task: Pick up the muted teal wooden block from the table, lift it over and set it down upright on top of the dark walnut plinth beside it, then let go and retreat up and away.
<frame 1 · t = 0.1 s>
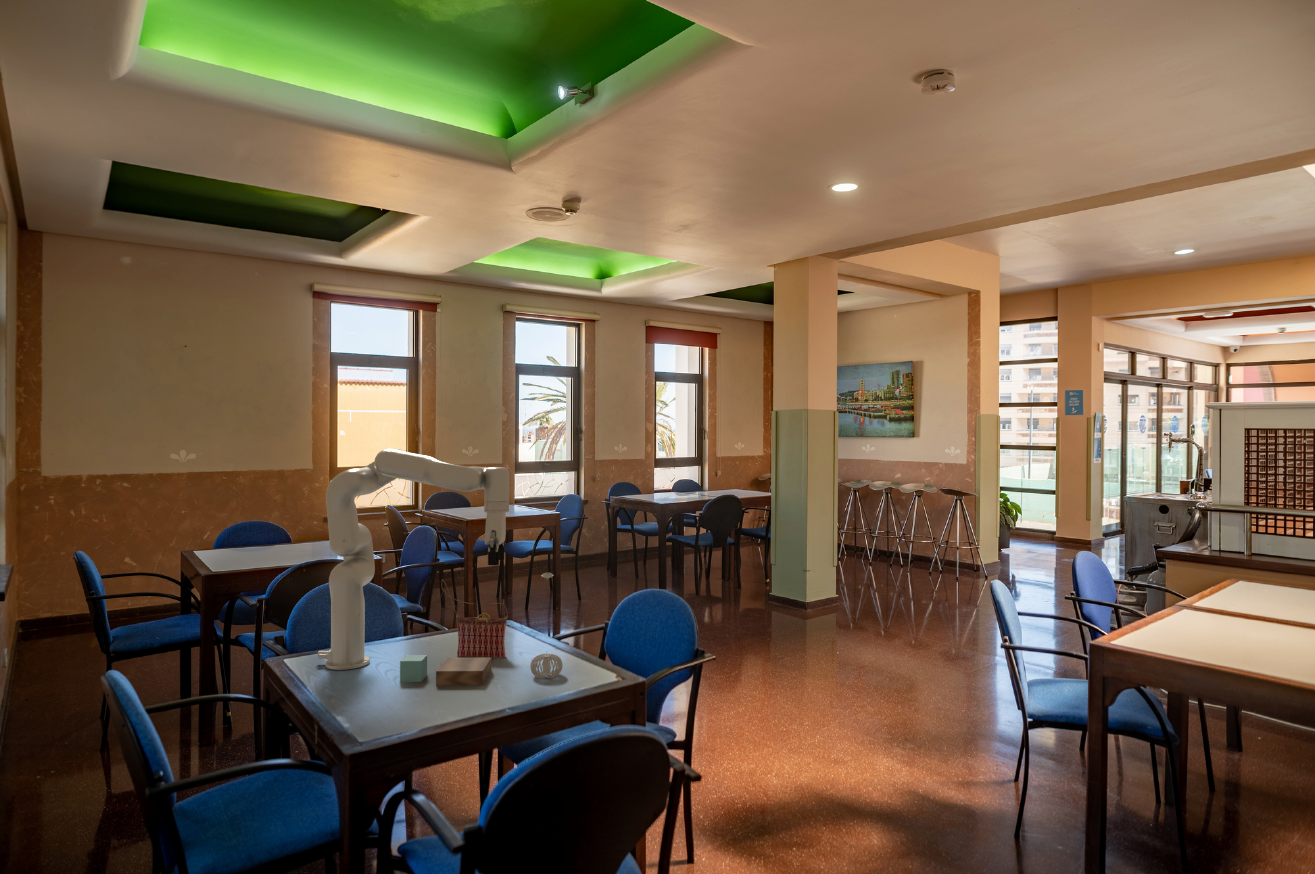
hand: (496, 562, 226), 31 cm above the table, tool pointing down, fingers open, 9 cm apart
walnut plinth: (464, 677, 212), on the table
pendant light: (546, 676, 214), on the table
teal block: (413, 678, 211), on the table
handbag: (473, 658, 232), on the table
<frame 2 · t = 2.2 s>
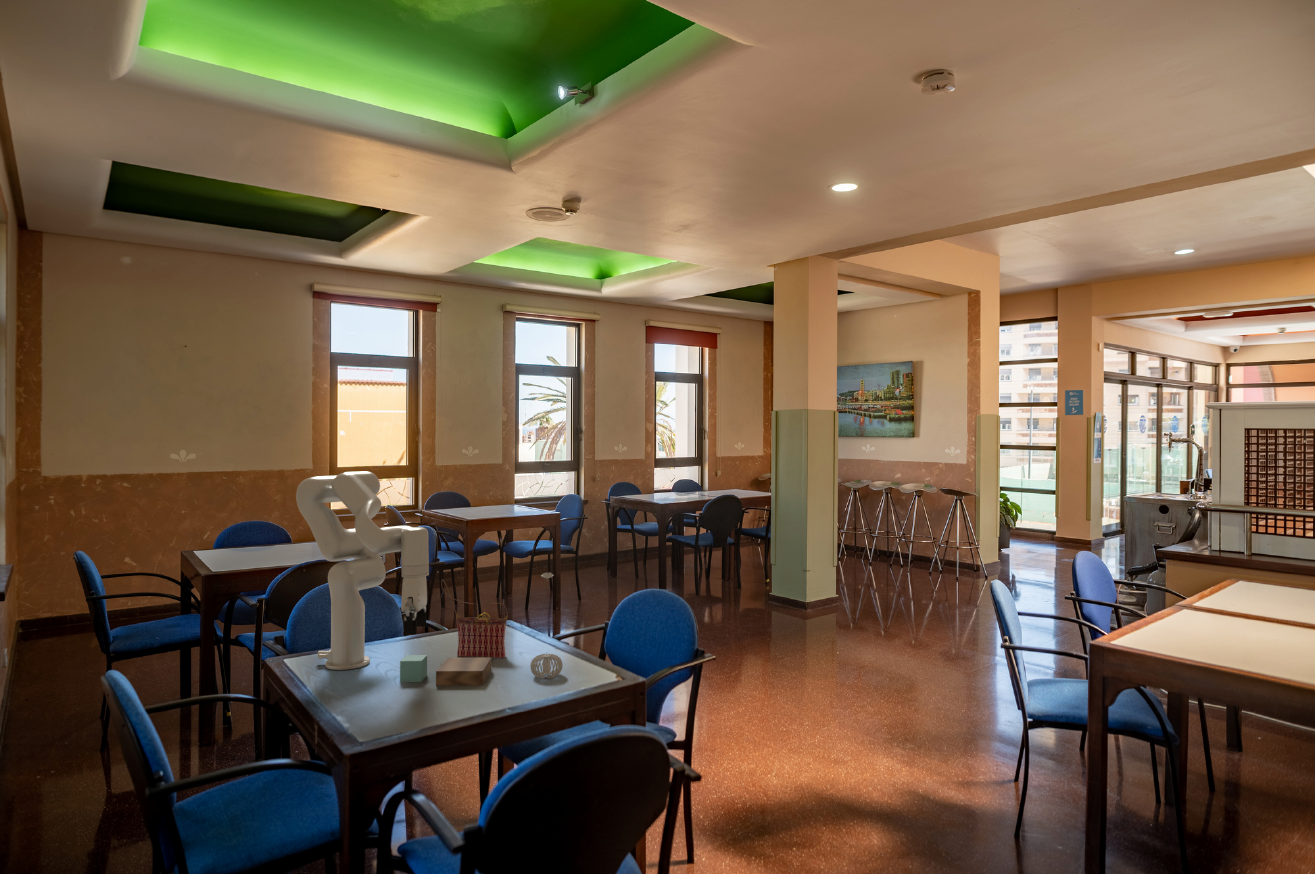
hand: (415, 630, 211), 14 cm above the table, tool pointing down, fingers open, 9 cm apart
nothing on the table moved.
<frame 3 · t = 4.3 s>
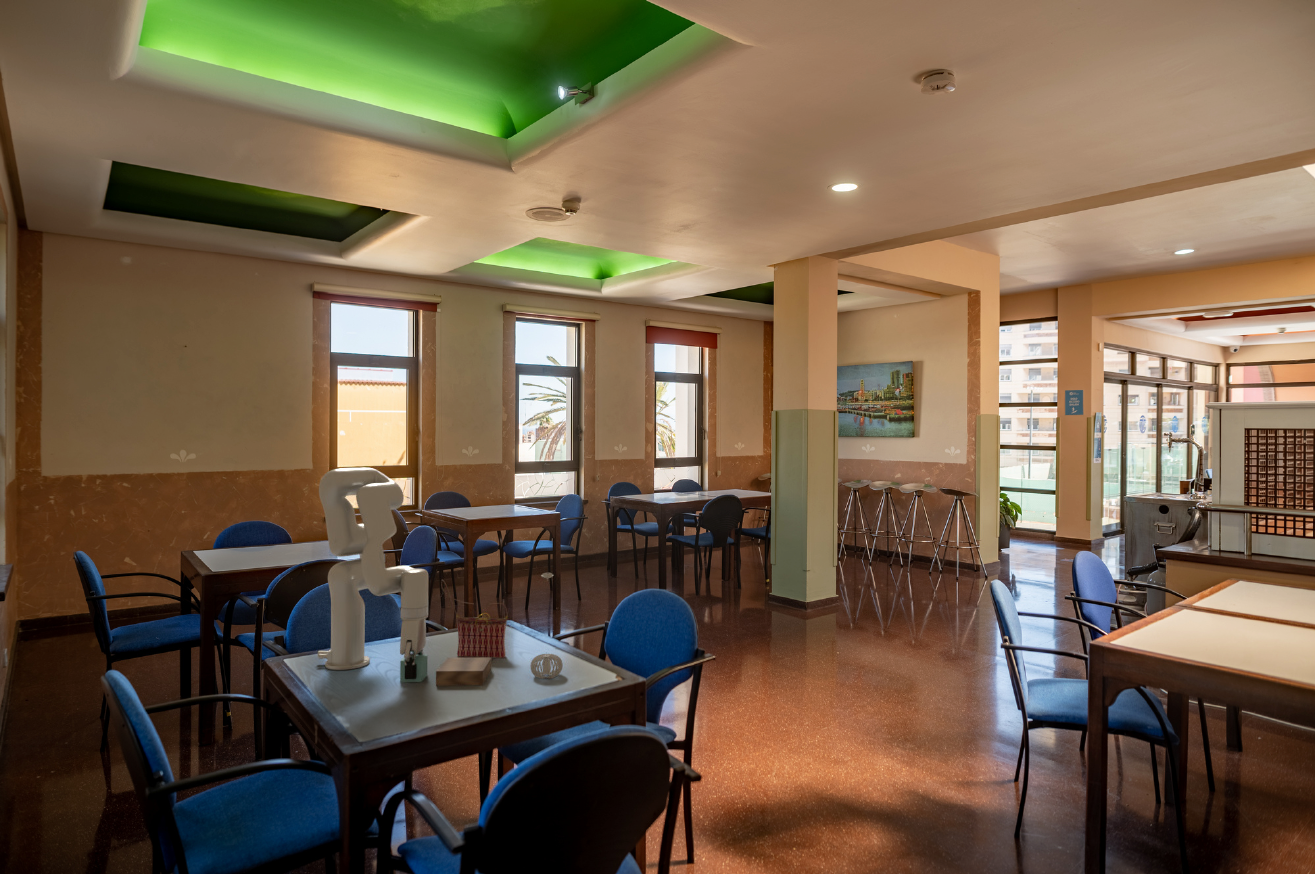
hand: (414, 674, 211), 1 cm above the table, tool pointing down, fingers closed on teal block, 6 cm apart
teal block: (413, 678, 211), on the table, touching gripper
everything else where it was.
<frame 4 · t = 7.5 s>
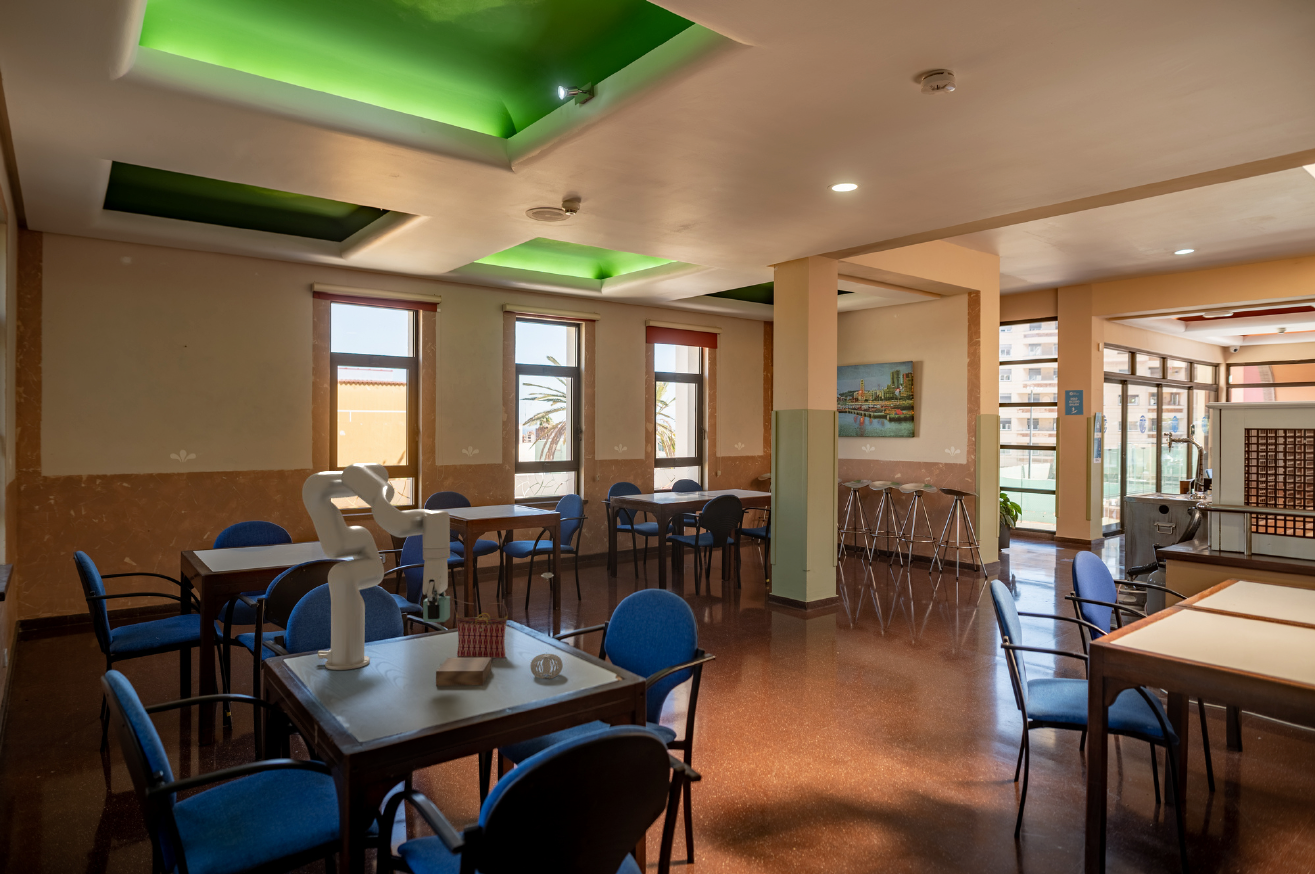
hand: (436, 615, 211), 18 cm above the table, tool pointing down, fingers closed on teal block, 6 cm apart
teal block: (436, 619, 211), point 17 cm above the table, touching gripper
everything else where it was.
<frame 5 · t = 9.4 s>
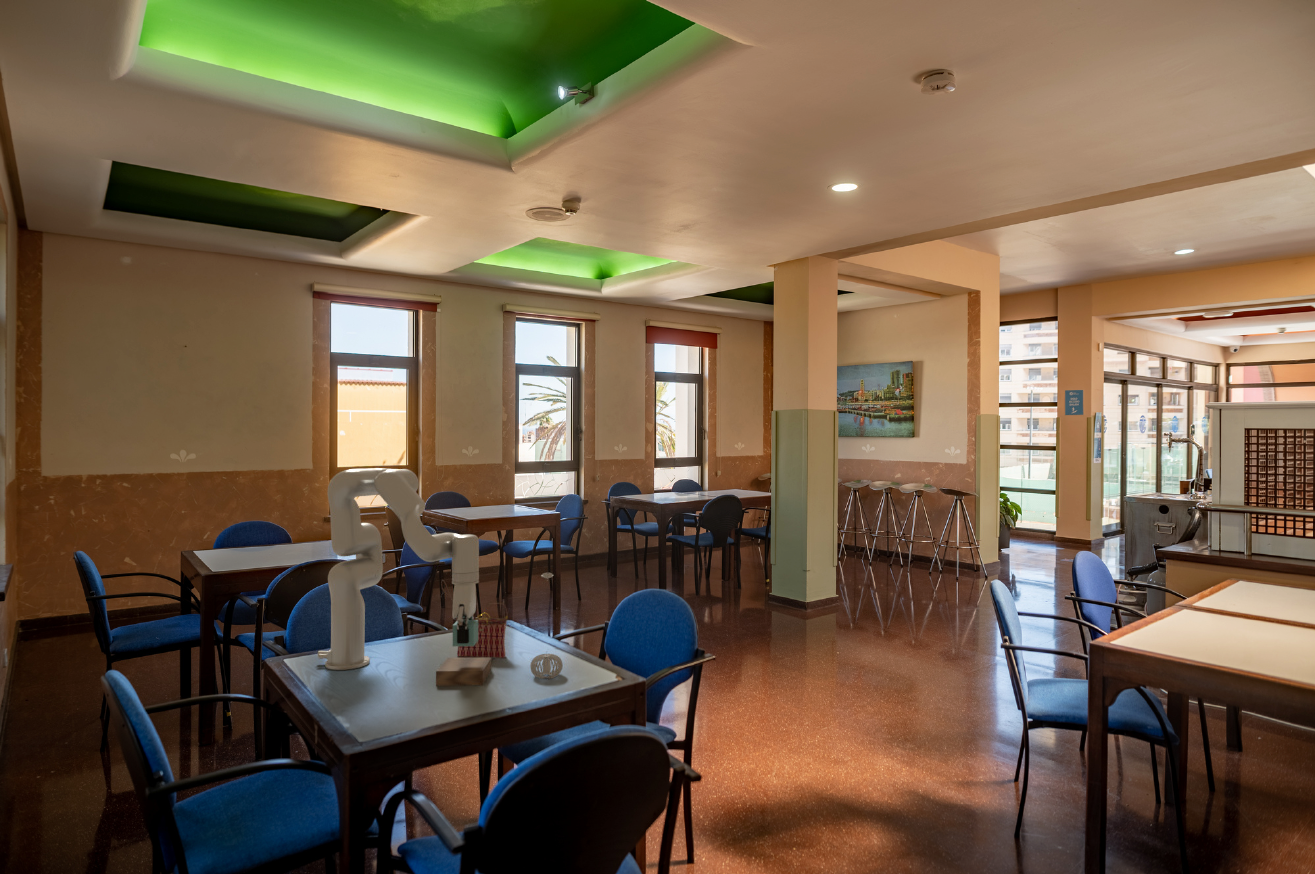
hand: (465, 639, 212), 11 cm above the table, tool pointing down, fingers closed on teal block, 6 cm apart
teal block: (465, 643, 212), point 10 cm above the table, touching gripper
everything else where it was.
when the fingers open (7 cm above the table, at t = 11.1 s): teal block drops 1 cm, resting on walnut plinth.
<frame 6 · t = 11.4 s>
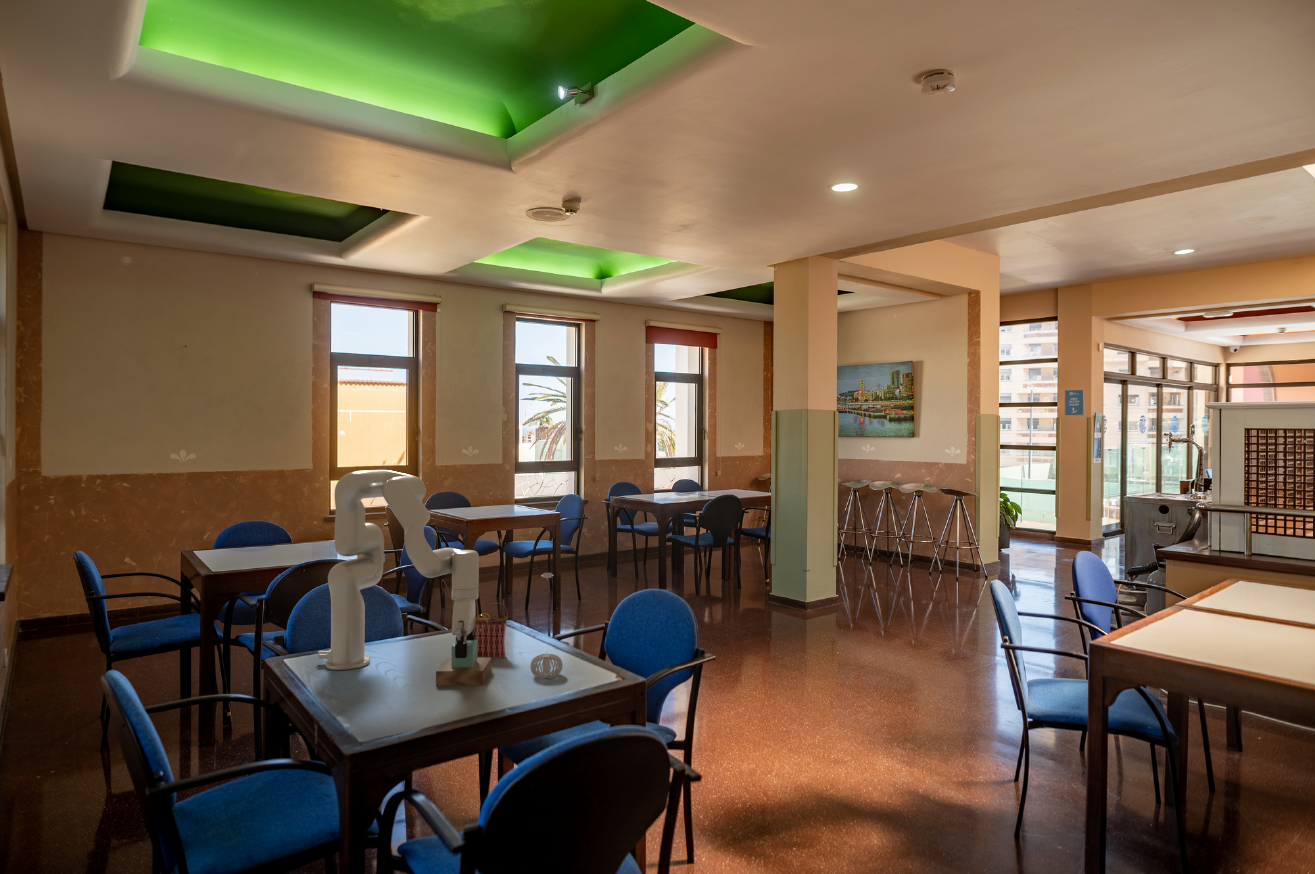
hand: (464, 652, 212), 7 cm above the table, tool pointing down, fingers open, 9 cm apart
teal block: (464, 663, 212), point 4 cm above the table, touching walnut plinth
everything else where it was.
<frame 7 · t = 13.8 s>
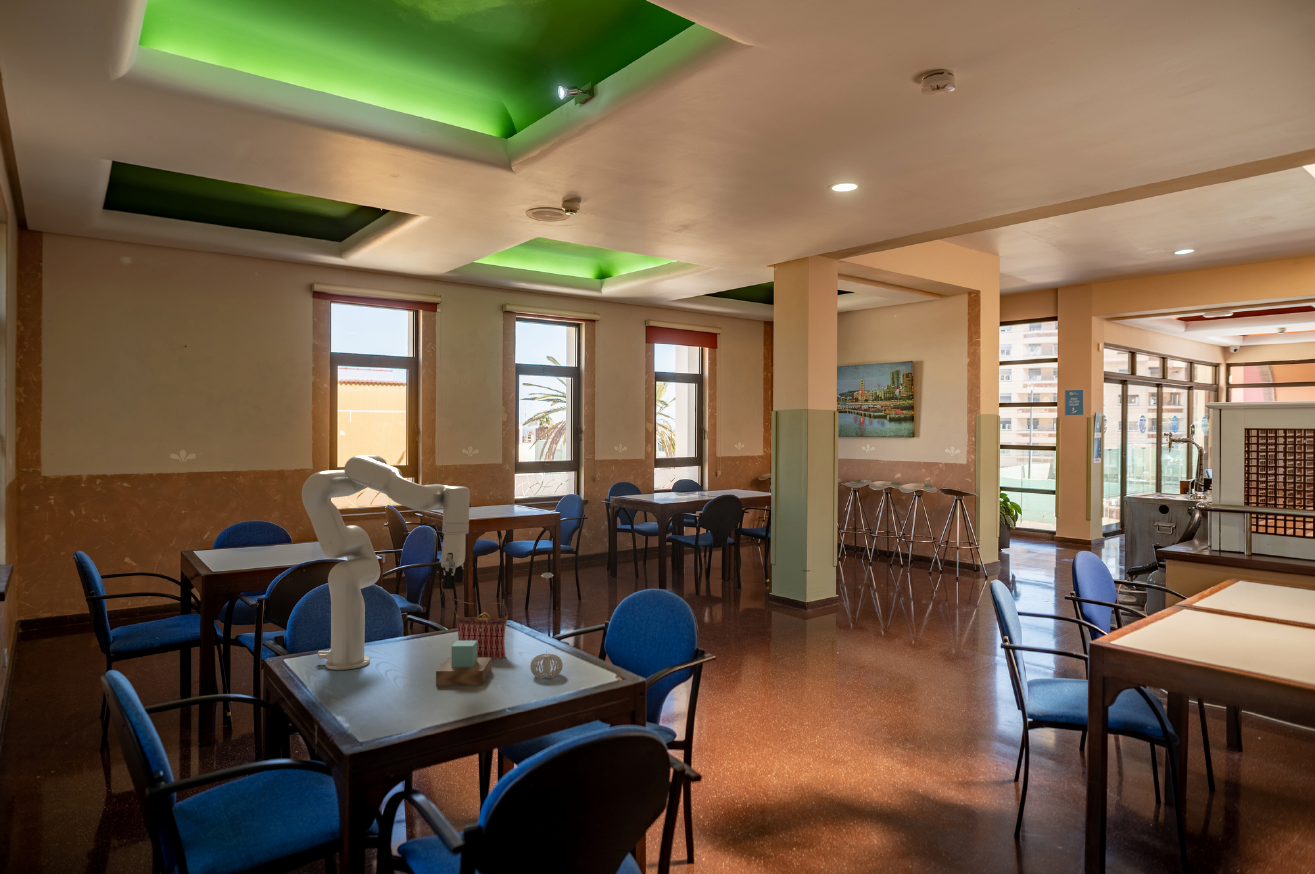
hand: (453, 585, 217), 26 cm above the table, tool pointing down, fingers open, 9 cm apart
nothing on the table moved.
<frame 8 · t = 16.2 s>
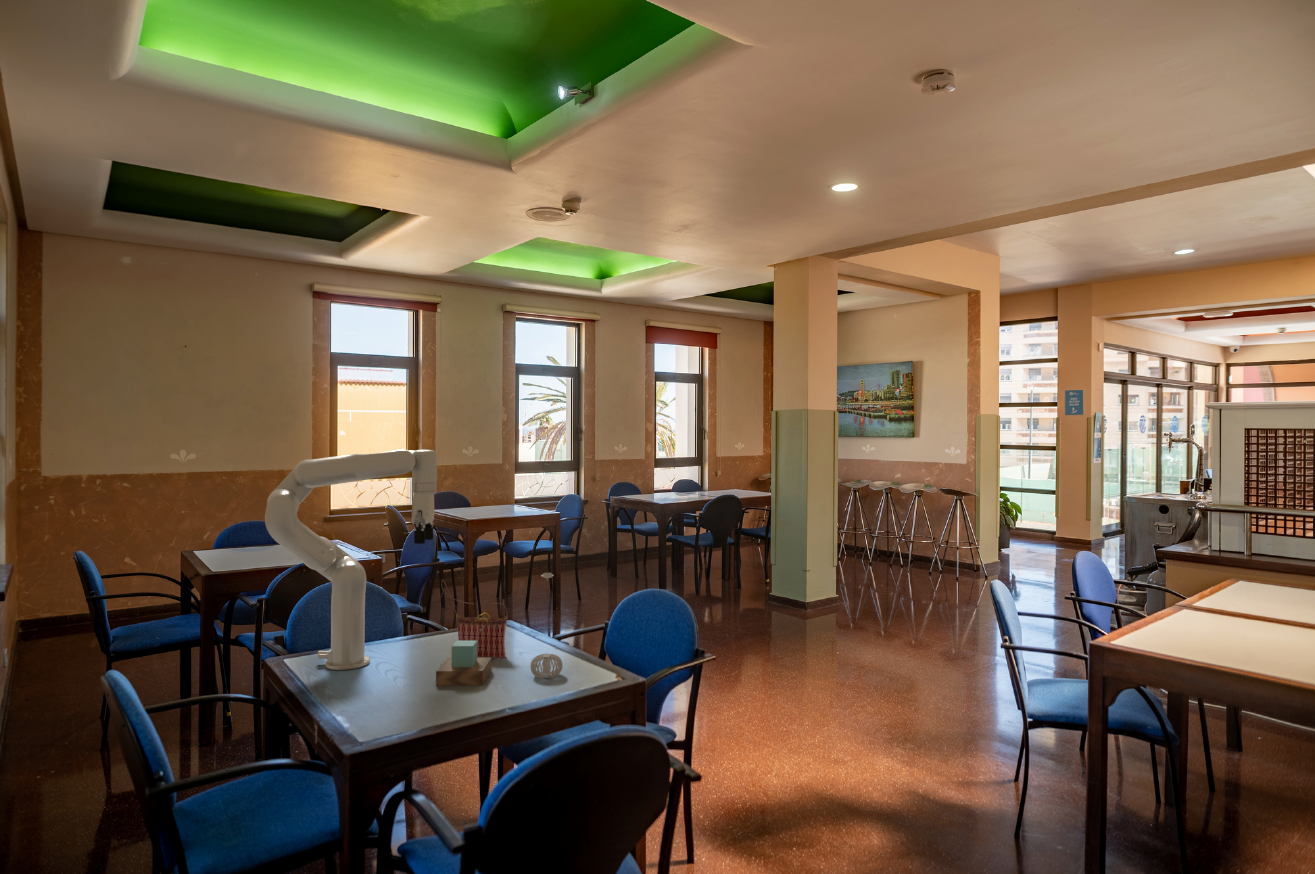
hand: (423, 541, 235), 36 cm above the table, tool pointing down, fingers open, 9 cm apart
nothing on the table moved.
at the end: teal block inside the target area on the walnut plinth (0.0 cm from its centre), point 4.0 cm above the walnut plinth's base; teal block tilted 0°; the gripper is holding nothing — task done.
